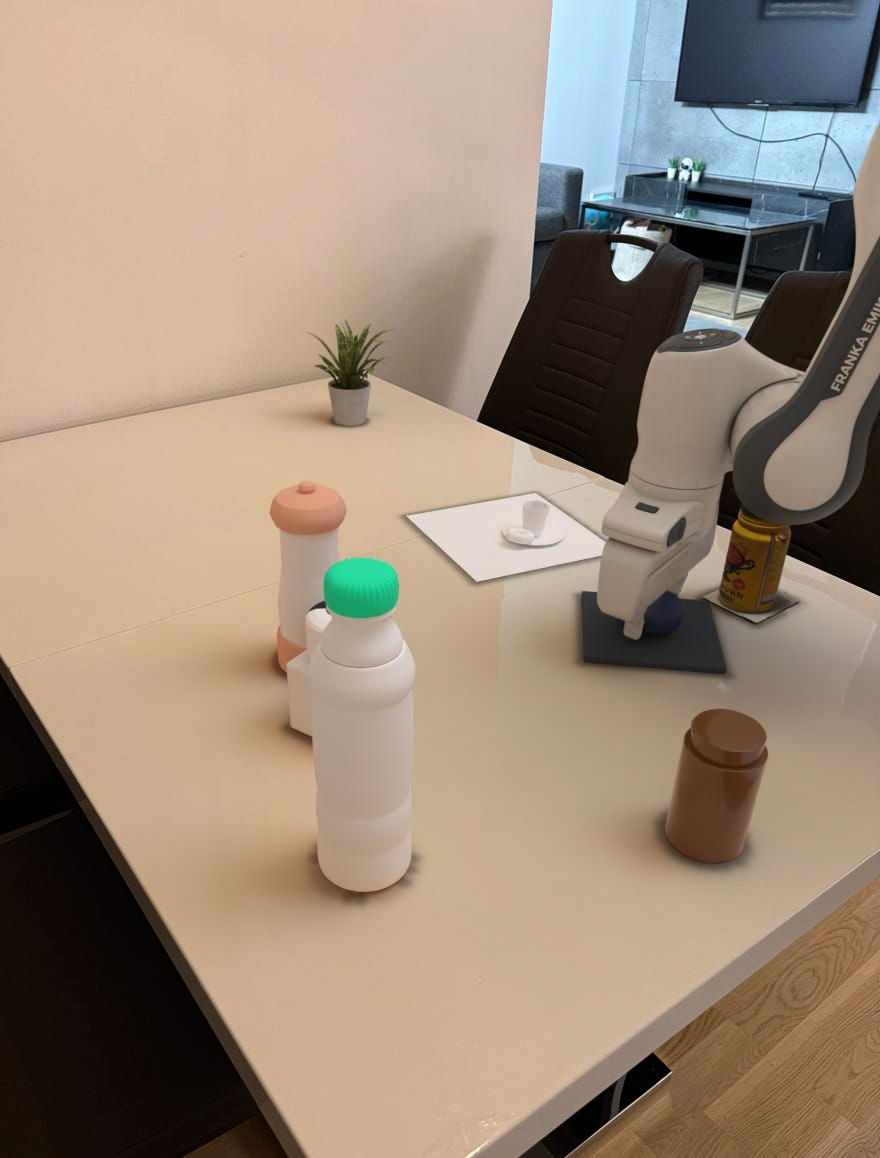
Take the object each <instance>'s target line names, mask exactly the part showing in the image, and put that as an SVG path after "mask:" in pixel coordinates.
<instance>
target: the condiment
mask: <svg viewBox="0 0 880 1158" xmlns="http://www.w3.org/2000/svg"><path fill="white" fill-rule="evenodd" d="M790 526H791V525H783V524H777V523H772V522H769V521H766V520H763V519H761V518H759V517H758V516H756V515H754V514H753V513H751V512H750V511H749V510H748V509H747V508H746V507H745V506H744V505H743V504H742V503H740V509H739V512H738V515H737V520H735V522H734V523H733V524H732V529H731V531H730V532H731V534H730V537H729V543H728V548H727V552H726V556H725V560H724V561H725V562H724V566H723V570H722V575H721V581H720V584H719V585H720V586H719V589H717V590H714V591H712V592H710V593H707V594H705V595H702V596H701V597H702V598H703V599H706V600H707V601H709V602H711V603H714V604H715V605H717V606H719V607H721V608H723V609H725V610H727V611H730V612H731V613H733V614H735V615H737V616H741V617H742V618H746V619H748V620H750V621H752V622H754V623H757V624H758V623H759V622H761V621H764V620H766V619H768V618H770V617H772V616H774V615H776V614H778V613H779V612H782V611H783V610H784V609H787V608H788V607H791V606H793V605H794V604H796V603H797V602H800V601H802V598H799V597H797V596H793V595H791V594H788V593H786V592H783V591H781V590H779V585H780V582H781V578H782V573H783V570H784V567H785V562H786V557H787V553H788V549H789V545H790V542H791V537H792V531H791V528H790Z"/></svg>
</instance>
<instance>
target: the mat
mask: <svg viewBox="0 0 880 1158" xmlns="http://www.w3.org/2000/svg"><path fill="white" fill-rule="evenodd" d="M679 599H680V600H681V601H682V603H683V606H684V609H683V611H684V613H683V617H682V621H681V623H680V625H679V627H678V628H676V629H675V630H673V631H671V632H667V633H661V634H654V633H646V632H645V633H644V634H643V635H642V636H641V637H640V638H639V639H637V640H635V639H632V638H629V637H627V636H625V635H624V632H623V631H624V625H625V623H624V622H623V621H622V620H621V619H618V618H615V617H613V616H610V615H607V614H605V613H603V612H602V611H601V610H600V608H599V606H598V603H597V591H589V590H582V591H581V611H582V613H581V615H582V641H583V643H582V645H583V661H584V662H585V663H586V662H587V663H598V664H599V663H600V664H610V665H620V666H621V665H623V666H632V667H644V668H654V669H655V668H656V669H666V670H667V669H668V670H679V671H680V670H681V671H692V672H702V673H713V674H723V675H724V674H727V671H728V667H727V665H726V660H725V657H724V653H723V649H722V645H721V641H720V638H719V634H718V630H717V627H716V622H715V618H714V614H713V611H712V608H711V607H712V606H711V603H710V600H705V599H703V600H702V599H692V598H691V599H689V598H681V597H679Z"/></svg>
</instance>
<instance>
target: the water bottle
mask: <svg viewBox="0 0 880 1158" xmlns="http://www.w3.org/2000/svg"><path fill="white" fill-rule="evenodd" d="M398 576H399V575H398V573H397V571H396V569H395V568H394V567H393V566H392V565H391V564H389V563H388V562H386V561H383V560H379V559H376V558H373V557H371V558H370V557H362V556H361V557H355V558H354V557H350V558H345V559H342V560H339V562H337V563H336V564H334V565H332V566H331V567H330V568H329V569H328V570H327V571H326V573H325V577H324V584H323V587H324V599H325V603H326V608H327V611H328V612H329V613H330V615H332V619H331V621H330V622H329V623H328V625H327V626H326V628H325V629H324V631H323V634H322V637H321V640H320V641H319V643H318V645H317V647H316V649H315V651H314V653H313V655H312V658H311V661H310V666H309V677H310V683H311V686H312V688H313V696H312V737H311V738H312V739H311V740H312V754H313V764H314V765H313V767H314V775H315V782H316V796H315V815H316V822H317V826H318V831H317V843H316V844H317V845H316V847H317V851H316V852H317V861H318V865H319V868H320V870H321V872H322V873H323V875H324V876H325V877H326V878H327V879H328V880H329V881H330V882H331V883H333V884H334V885H336V886H338V887H339V888H342V889H344V890H348V891H351V892H358V893H359V892H360V893H369V892H376V891H380V890H383V889H385V888H388V887H391V886H392V885H394V884H395V883H397V882H398V881H400V879H401V878H403V876H405V874H406V872H407V871H408V869H409V867H410V864H411V859H412V832H411V821H412V816H413V815H412V814H413V798H412V792H411V781H412V774H413V773H412V772H413V764H414V763H413V761H414V737H415V735H414V734H415V733H414V732H415V731H414V730H415V727H414V726H415V720H414V719H415V718H414V717H415V712H414V696H413V686H414V683H415V680H416V663H415V659H414V656H413V654H412V652H411V650H410V648H409V646H408V645H407V642H406V641H405V639H404V638H403V635H402V631H401V629H400V628H399V626H398V624H397V623H396V622H395V621H394V620H393V618H392V615H393V614H394V613H395V611H396V609H397V606H398V601H399V596H400V583H399V581H400V580H399V577H398Z"/></svg>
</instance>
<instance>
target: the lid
mask: <svg viewBox="0 0 880 1158" xmlns="http://www.w3.org/2000/svg"><path fill="white" fill-rule="evenodd" d="M679 598H680V597H679ZM679 598H678V597H677V596H675V595H674V594H672V593H670V592H668V591H666V592H664V593H663V594H662V595H661V596H660V597H659V598H657V599H656V600H655V601H654V602H653V603H652V604H650V605H649V606H648V607H647V609H646V611H645V612H644V620H647V625H646V628H645V629H646V631H645V632H646V633H654V634H661V633H667V632H671V631H673V630H675V629H676V628H678V627H679V625H680V623H681V621H682V617H683V613H684V611H683V609H684V606H683V603H682V601H681V600H680V599H681V598H680V599H679ZM622 621H623V622H624V623H625V621H624V620H622Z"/></svg>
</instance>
